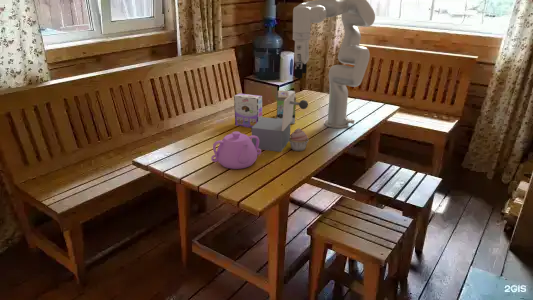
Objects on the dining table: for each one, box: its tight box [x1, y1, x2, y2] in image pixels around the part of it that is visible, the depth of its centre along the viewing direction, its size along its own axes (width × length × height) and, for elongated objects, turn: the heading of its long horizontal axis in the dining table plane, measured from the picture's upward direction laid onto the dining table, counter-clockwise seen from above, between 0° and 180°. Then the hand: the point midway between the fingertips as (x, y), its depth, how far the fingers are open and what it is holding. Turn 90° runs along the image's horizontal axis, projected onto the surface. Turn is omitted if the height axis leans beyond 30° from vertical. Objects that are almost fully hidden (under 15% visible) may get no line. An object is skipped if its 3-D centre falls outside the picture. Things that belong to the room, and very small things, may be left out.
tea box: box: [276, 90, 297, 125], centre depth 226 cm, size 15×10×15 cm
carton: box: [251, 116, 291, 153], centre depth 194 cm, size 14×16×10 cm
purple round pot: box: [210, 130, 262, 170], centre depth 171 cm, size 22×22×14 cm
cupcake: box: [288, 127, 310, 152], centre depth 188 cm, size 9×9×10 cm
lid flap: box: [282, 91, 309, 131], centre depth 186 cm, size 14×16×9 cm
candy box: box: [233, 92, 263, 129], centre depth 216 cm, size 14×6×16 cm, turn 65°
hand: (300, 75), depth 186 cm, fingers open, 9 cm apart
